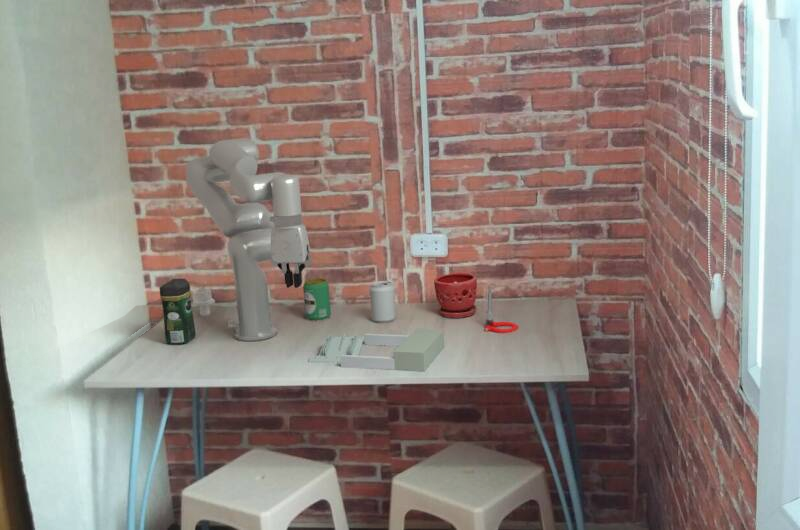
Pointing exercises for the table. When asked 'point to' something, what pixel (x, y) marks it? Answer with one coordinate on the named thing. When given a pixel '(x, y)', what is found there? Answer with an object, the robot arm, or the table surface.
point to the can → (382, 302)
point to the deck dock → (401, 351)
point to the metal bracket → (338, 348)
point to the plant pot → (456, 294)
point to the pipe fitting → (203, 301)
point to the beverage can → (317, 299)
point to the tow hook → (491, 323)
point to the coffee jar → (177, 311)
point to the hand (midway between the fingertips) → (293, 286)
